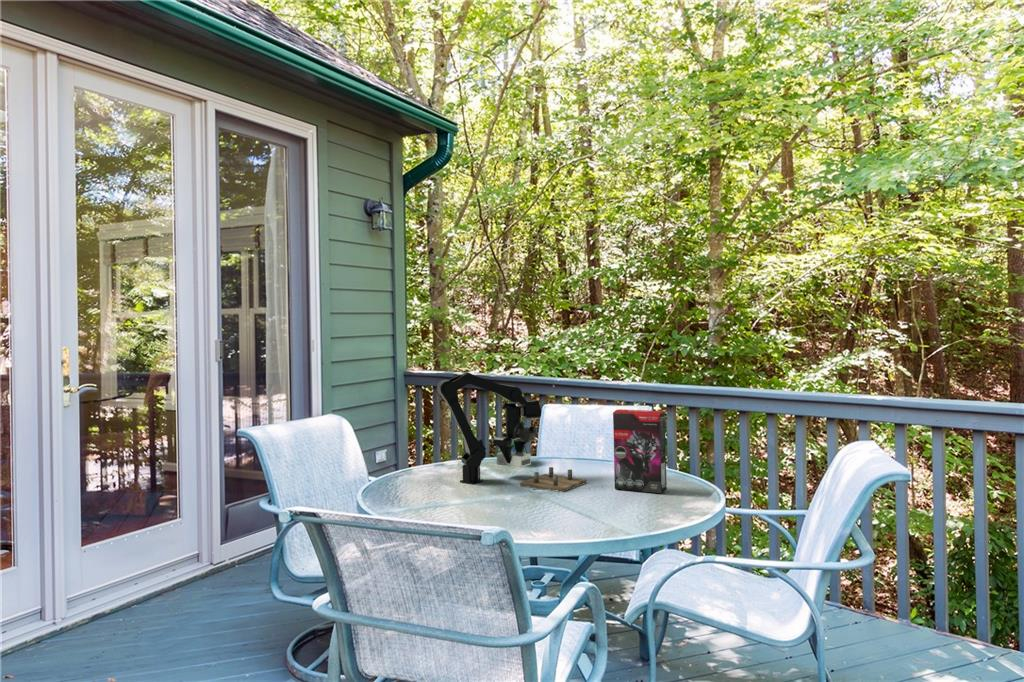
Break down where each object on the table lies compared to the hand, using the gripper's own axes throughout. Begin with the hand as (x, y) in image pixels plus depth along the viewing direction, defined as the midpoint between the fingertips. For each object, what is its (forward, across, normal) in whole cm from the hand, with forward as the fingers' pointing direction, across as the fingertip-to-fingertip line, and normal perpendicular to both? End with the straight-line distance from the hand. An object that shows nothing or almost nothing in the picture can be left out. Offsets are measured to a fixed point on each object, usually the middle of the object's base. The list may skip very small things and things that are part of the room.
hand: (514, 461), depth 267 cm
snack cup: (+6, +21, +16) cm, 27 cm away
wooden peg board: (+6, -1, -18) cm, 19 cm away
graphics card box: (+6, +7, -48) cm, 49 cm away
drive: (+1, 0, 0) cm, 1 cm away
